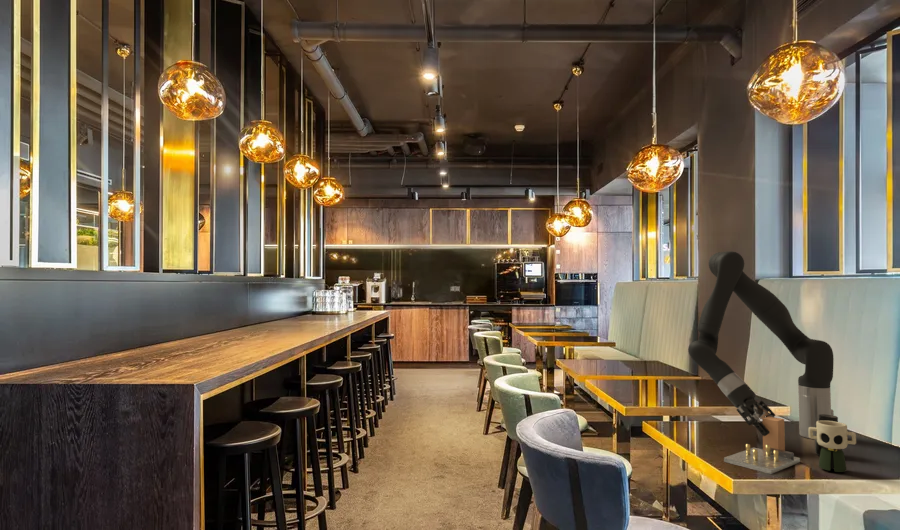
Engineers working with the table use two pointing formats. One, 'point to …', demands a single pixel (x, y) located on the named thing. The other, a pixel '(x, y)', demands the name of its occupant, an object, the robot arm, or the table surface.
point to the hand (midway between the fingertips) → (773, 432)
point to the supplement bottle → (821, 418)
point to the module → (774, 433)
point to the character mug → (832, 444)
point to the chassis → (763, 459)
